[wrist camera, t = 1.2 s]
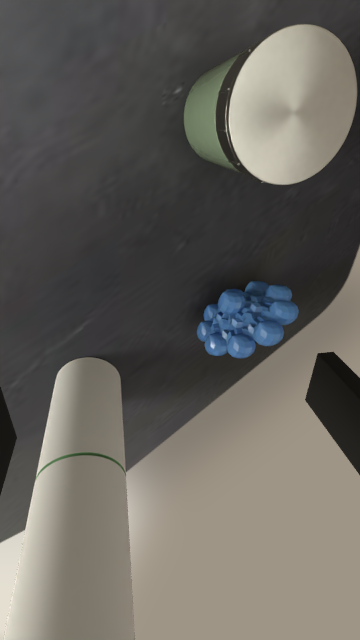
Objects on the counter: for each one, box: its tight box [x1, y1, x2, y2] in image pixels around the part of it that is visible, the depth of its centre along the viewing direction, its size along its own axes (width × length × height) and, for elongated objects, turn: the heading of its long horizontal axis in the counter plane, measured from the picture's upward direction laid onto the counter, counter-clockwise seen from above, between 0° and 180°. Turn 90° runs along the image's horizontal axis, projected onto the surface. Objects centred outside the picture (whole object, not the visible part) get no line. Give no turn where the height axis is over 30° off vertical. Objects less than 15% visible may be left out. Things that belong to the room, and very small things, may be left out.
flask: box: [184, 48, 248, 174], centre depth 27 cm, size 8×8×14 cm
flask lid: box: [215, 24, 357, 185], centre depth 22 cm, size 8×8×3 cm
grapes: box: [197, 281, 299, 358], centre depth 37 cm, size 12×7×12 cm, turn 126°
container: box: [3, 357, 135, 640], centre depth 33 cm, size 9×9×30 cm
